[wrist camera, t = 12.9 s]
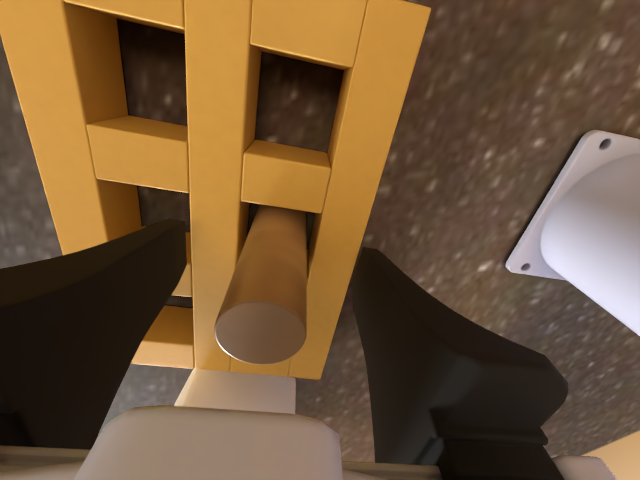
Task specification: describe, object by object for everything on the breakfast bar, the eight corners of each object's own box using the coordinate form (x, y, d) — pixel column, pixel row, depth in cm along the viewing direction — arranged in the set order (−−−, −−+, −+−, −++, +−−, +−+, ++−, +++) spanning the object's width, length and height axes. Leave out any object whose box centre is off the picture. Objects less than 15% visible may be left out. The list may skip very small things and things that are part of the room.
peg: (310, 198, 15) (314, 306, 8) (302, 241, 16) (299, 369, 9) (258, 189, 14) (214, 294, 7) (254, 234, 16) (212, 361, 9)
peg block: (404, 22, 11) (432, 7, 9) (318, 342, 20) (320, 379, 17) (44, -69, 10) (-45, -120, 7) (121, 323, 18) (92, 361, 16)
